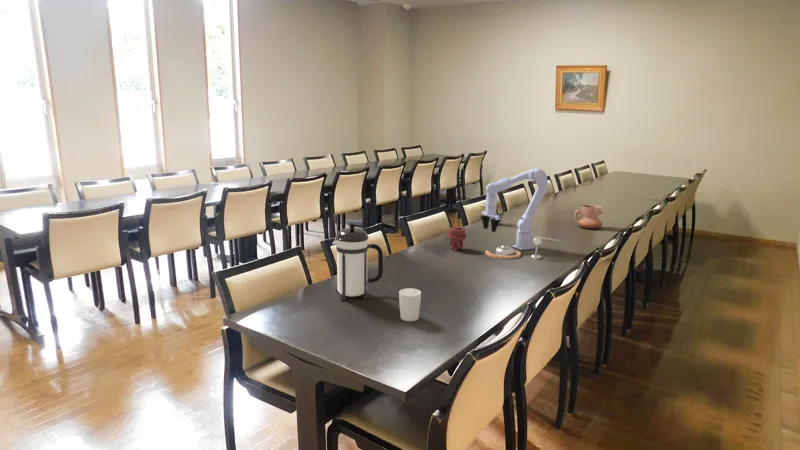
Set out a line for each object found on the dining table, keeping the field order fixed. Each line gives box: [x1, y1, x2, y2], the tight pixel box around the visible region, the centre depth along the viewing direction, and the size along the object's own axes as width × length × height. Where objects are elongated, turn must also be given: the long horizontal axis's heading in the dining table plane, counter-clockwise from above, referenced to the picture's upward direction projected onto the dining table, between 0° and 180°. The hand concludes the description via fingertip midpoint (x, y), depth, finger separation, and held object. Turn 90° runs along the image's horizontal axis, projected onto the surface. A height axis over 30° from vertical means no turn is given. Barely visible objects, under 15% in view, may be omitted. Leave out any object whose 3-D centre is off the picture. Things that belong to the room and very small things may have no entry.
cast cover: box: [495, 244, 515, 256], centre depth 267 cm, size 9×9×5 cm
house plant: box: [479, 201, 499, 226], centre depth 336 cm, size 14×14×16 cm
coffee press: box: [332, 222, 384, 302], centre depth 205 cm, size 17×16×30 cm
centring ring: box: [484, 248, 522, 260], centre depth 268 cm, size 18×14×1 cm
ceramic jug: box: [574, 204, 605, 230], centre depth 330 cm, size 18×14×14 cm
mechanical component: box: [446, 225, 467, 252], centre depth 275 cm, size 12×10×10 cm
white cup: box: [398, 287, 422, 322], centre depth 186 cm, size 8×8×10 cm
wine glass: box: [530, 236, 543, 260], centre depth 262 cm, size 5×5×11 cm
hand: (489, 230), depth 280 cm, fingers open, 7 cm apart
